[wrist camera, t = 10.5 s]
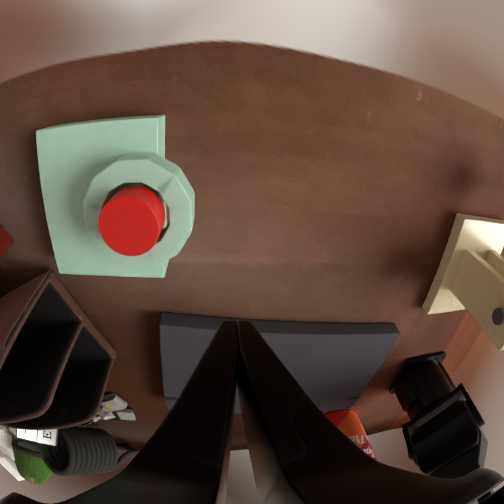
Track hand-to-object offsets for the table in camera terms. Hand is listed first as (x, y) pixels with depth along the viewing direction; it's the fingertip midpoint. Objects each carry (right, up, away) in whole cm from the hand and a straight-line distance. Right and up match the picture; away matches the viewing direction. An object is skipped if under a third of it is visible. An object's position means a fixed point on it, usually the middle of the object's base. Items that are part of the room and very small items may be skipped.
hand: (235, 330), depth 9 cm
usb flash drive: (-18, -15, +20) cm, 31 cm away
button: (-6, +4, +6) cm, 9 cm away
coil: (-23, -20, +21) cm, 37 cm away
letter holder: (-23, -6, +14) cm, 27 cm away
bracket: (+21, +1, +15) cm, 26 cm away
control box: (-8, +6, +9) cm, 14 cm away
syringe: (-16, -15, +18) cm, 28 cm away
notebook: (+3, -9, +19) cm, 21 cm away
